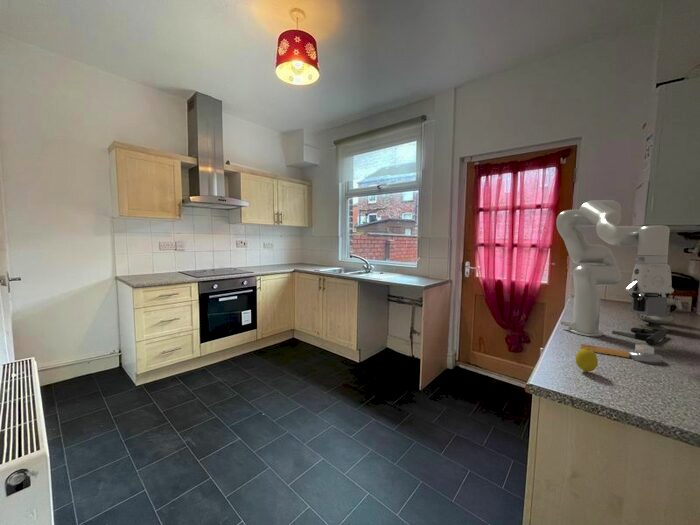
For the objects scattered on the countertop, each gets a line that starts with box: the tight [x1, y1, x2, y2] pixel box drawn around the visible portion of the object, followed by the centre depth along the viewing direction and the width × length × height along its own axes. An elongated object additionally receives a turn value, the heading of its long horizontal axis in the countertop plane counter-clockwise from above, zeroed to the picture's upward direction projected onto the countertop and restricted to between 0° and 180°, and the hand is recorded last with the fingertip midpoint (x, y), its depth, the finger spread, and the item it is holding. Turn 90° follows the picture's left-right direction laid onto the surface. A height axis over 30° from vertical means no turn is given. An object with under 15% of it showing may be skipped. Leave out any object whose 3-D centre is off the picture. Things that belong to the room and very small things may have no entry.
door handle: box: [611, 327, 669, 346], centre depth 130 cm, size 3×20×16 cm
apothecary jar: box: [637, 294, 676, 333], centre depth 142 cm, size 12×12×18 cm
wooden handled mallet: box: [579, 343, 663, 365], centre depth 110 cm, size 22×9×5 cm, turn 57°
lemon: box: [575, 348, 599, 373], centre depth 95 cm, size 6×6×8 cm
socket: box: [630, 293, 667, 316], centre depth 105 cm, size 6×6×8 cm
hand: (648, 310), depth 105 cm, fingers closed on socket, 6 cm apart
